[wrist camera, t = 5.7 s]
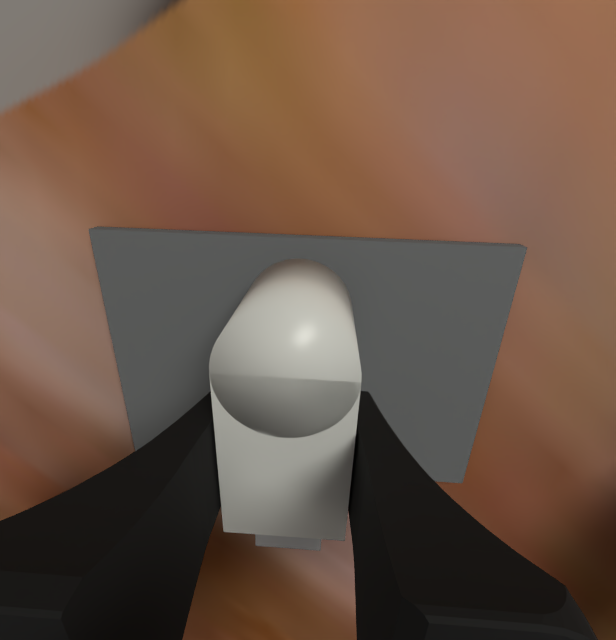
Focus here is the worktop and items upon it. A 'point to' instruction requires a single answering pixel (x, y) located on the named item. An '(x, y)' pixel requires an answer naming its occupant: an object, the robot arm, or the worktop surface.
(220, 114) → the worktop surface
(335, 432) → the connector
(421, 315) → the mat
